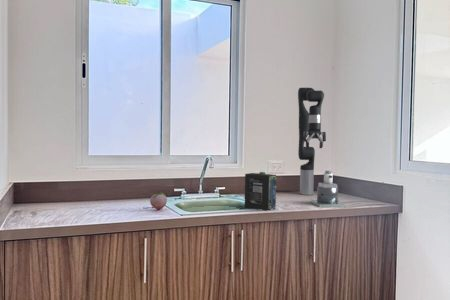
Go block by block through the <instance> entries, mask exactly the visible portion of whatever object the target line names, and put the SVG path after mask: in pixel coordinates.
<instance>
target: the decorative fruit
mask: <svg viewBox="0 0 450 300" xmlns="http://www.w3.org/2000/svg"><path fill="white" fill-rule="evenodd" d="M149 203H150V205H151V207H152V208H154V209H155V210H158V211H161V210H162V209H163V208H165V207H166V205H167V203H168V198H167V196H166V194H165V193H163V192H160V191H158V192H157V193H154V194H153V195H152V196H151V197H150V199H149Z"/></svg>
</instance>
